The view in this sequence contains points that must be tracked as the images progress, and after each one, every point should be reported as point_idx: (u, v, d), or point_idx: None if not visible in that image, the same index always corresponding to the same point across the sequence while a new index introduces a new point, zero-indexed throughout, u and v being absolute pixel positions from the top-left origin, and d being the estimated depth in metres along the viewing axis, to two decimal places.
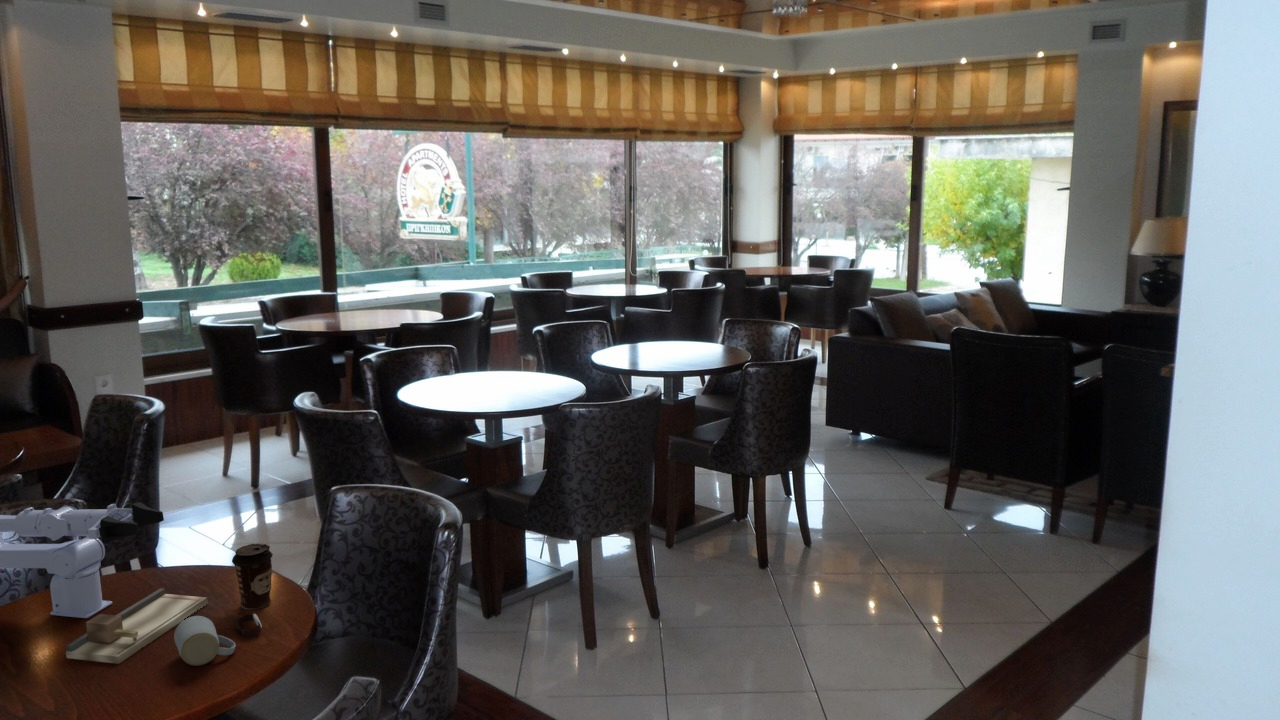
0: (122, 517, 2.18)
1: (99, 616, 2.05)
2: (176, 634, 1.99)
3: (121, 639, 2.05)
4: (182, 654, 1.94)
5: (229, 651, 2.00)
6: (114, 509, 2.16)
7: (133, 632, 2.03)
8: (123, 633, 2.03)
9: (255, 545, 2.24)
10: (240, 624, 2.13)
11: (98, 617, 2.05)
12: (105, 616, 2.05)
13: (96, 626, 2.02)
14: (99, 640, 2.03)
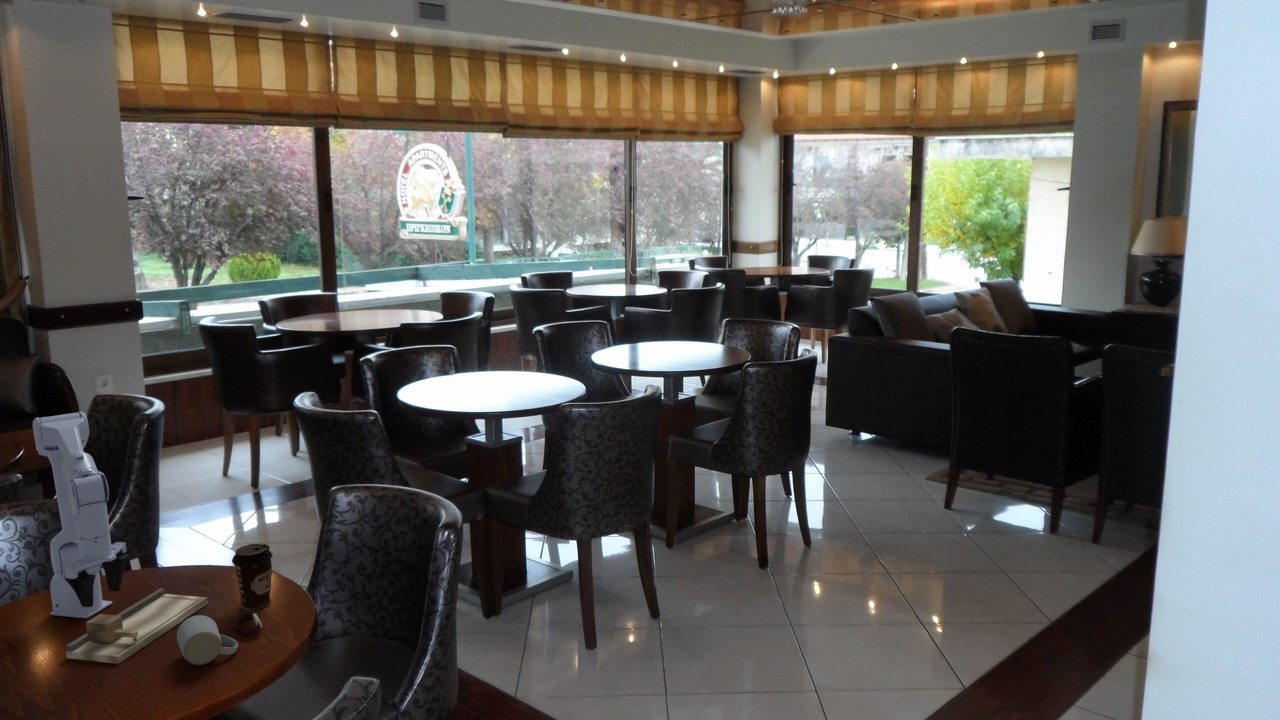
0: None
1: (99, 616, 2.05)
2: (179, 633, 1.99)
3: (121, 639, 2.05)
4: (184, 653, 1.94)
5: (231, 650, 2.00)
6: None
7: (133, 632, 2.03)
8: (123, 633, 2.03)
9: (255, 545, 2.24)
10: (240, 624, 2.13)
11: (98, 617, 2.05)
12: (105, 616, 2.05)
13: (96, 626, 2.02)
14: (99, 640, 2.03)
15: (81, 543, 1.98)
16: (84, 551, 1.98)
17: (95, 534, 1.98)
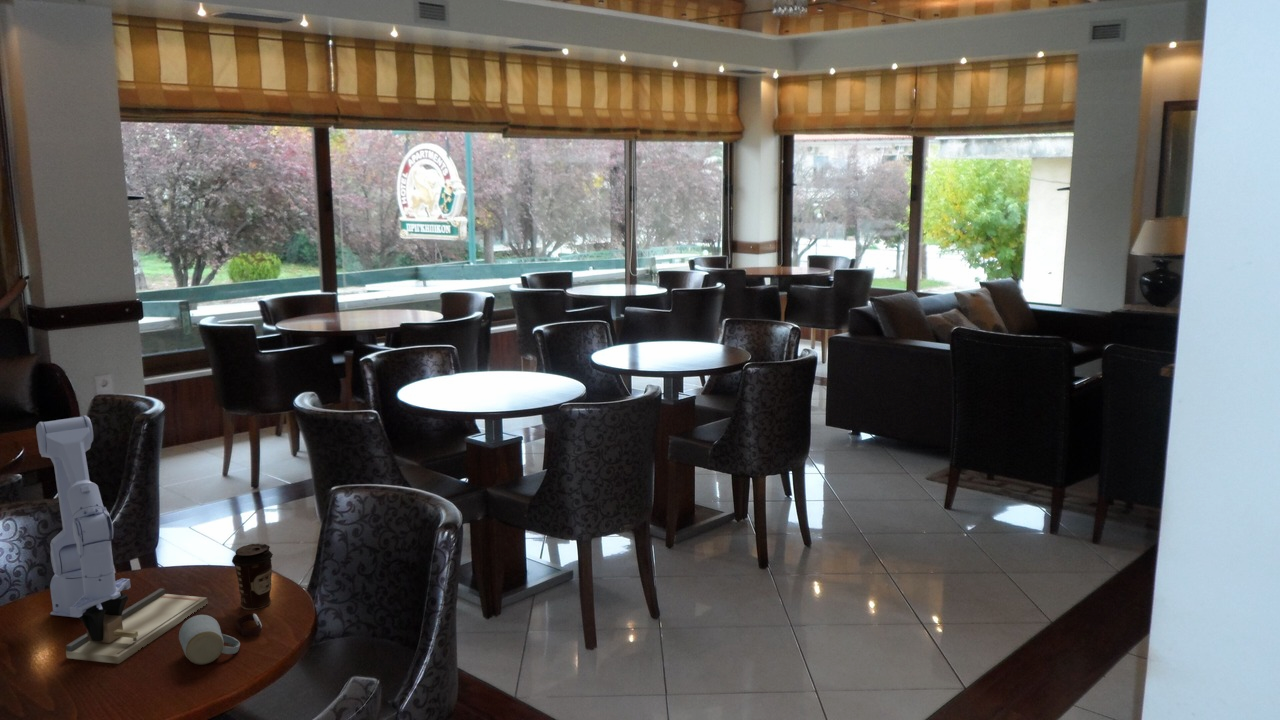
0: None
1: None
2: (181, 633, 1.99)
3: (121, 639, 2.05)
4: (187, 653, 1.95)
5: (234, 650, 2.00)
6: None
7: (133, 632, 2.03)
8: (123, 633, 2.03)
9: (255, 545, 2.24)
10: (240, 624, 2.13)
11: None
12: (105, 616, 2.05)
13: None
14: None
15: (86, 581, 2.00)
16: (89, 590, 2.00)
17: (100, 572, 2.00)
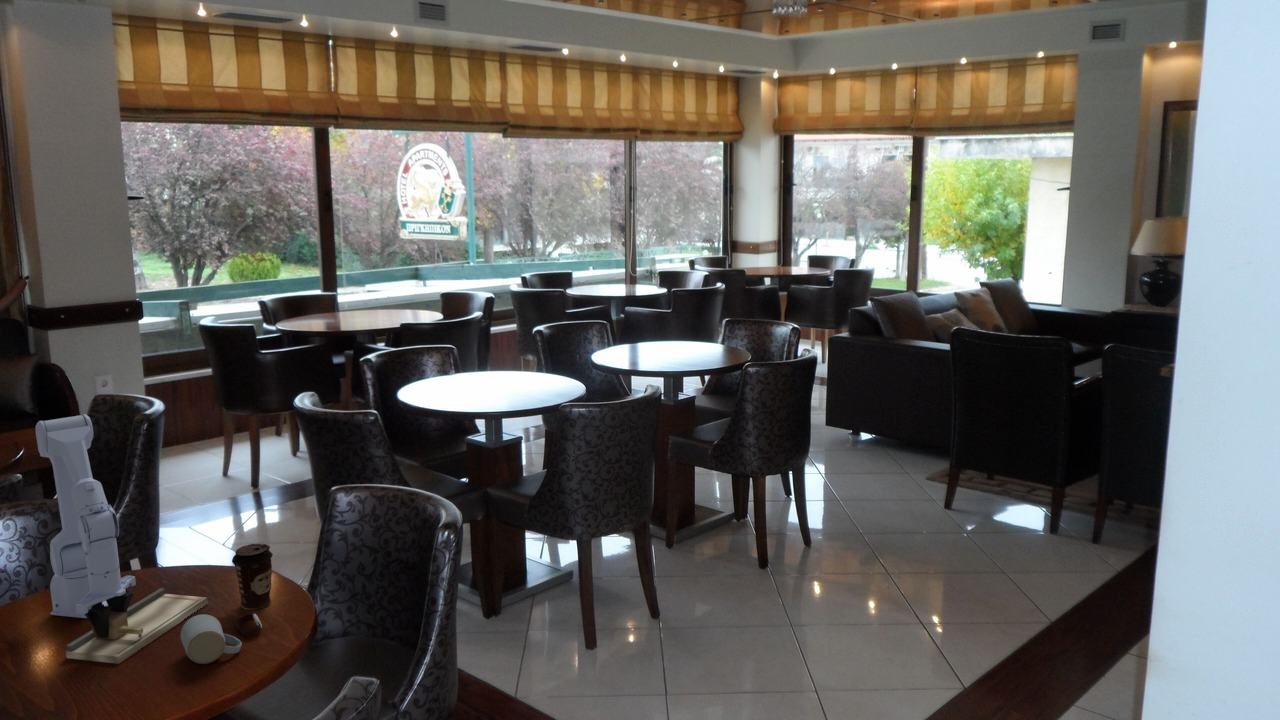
0: None
1: None
2: (182, 632, 1.99)
3: (121, 639, 2.05)
4: (188, 652, 1.95)
5: (235, 650, 2.01)
6: None
7: (138, 629, 2.04)
8: (128, 630, 2.05)
9: (255, 545, 2.24)
10: (240, 624, 2.13)
11: None
12: (110, 613, 2.07)
13: None
14: None
15: (91, 578, 2.01)
16: (94, 586, 2.01)
17: (106, 569, 2.01)
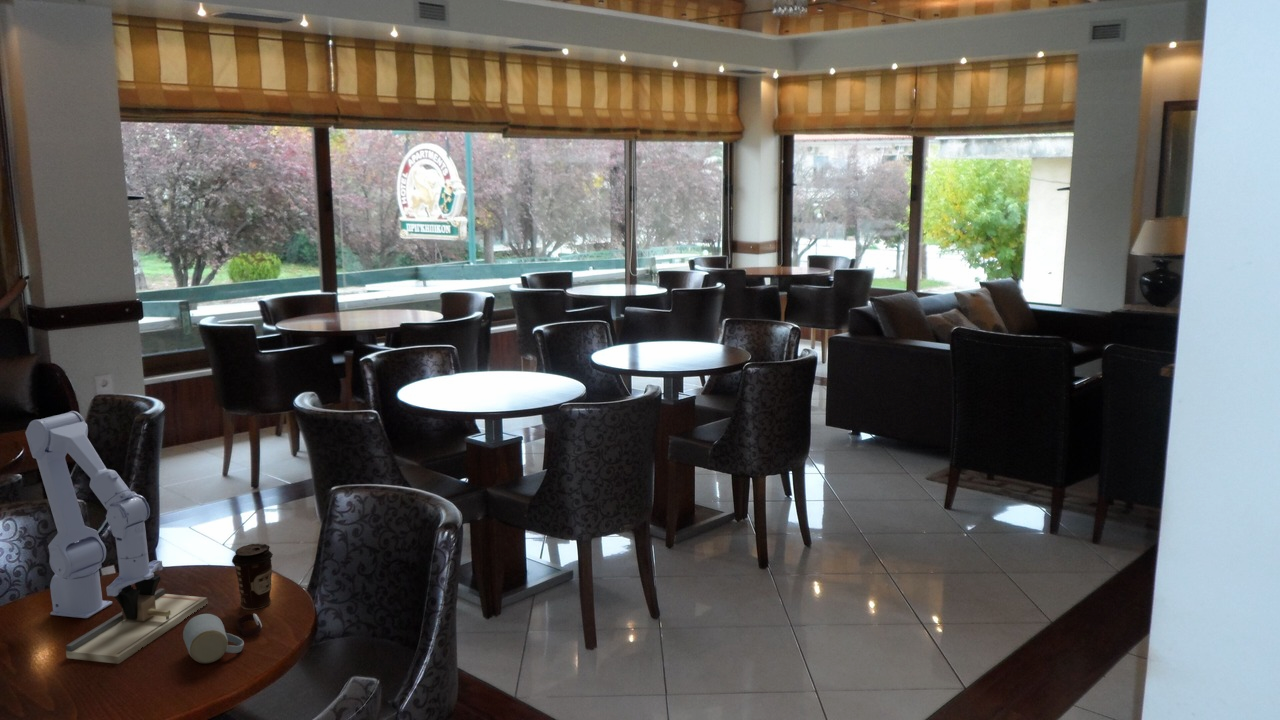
0: None
1: None
2: (185, 632, 1.99)
3: (121, 639, 2.05)
4: (191, 652, 1.95)
5: (237, 649, 2.01)
6: None
7: (166, 611, 2.13)
8: (156, 612, 2.13)
9: (255, 545, 2.24)
10: (240, 624, 2.13)
11: None
12: (139, 596, 2.15)
13: None
14: None
15: (121, 562, 2.09)
16: (124, 570, 2.10)
17: (141, 552, 2.10)
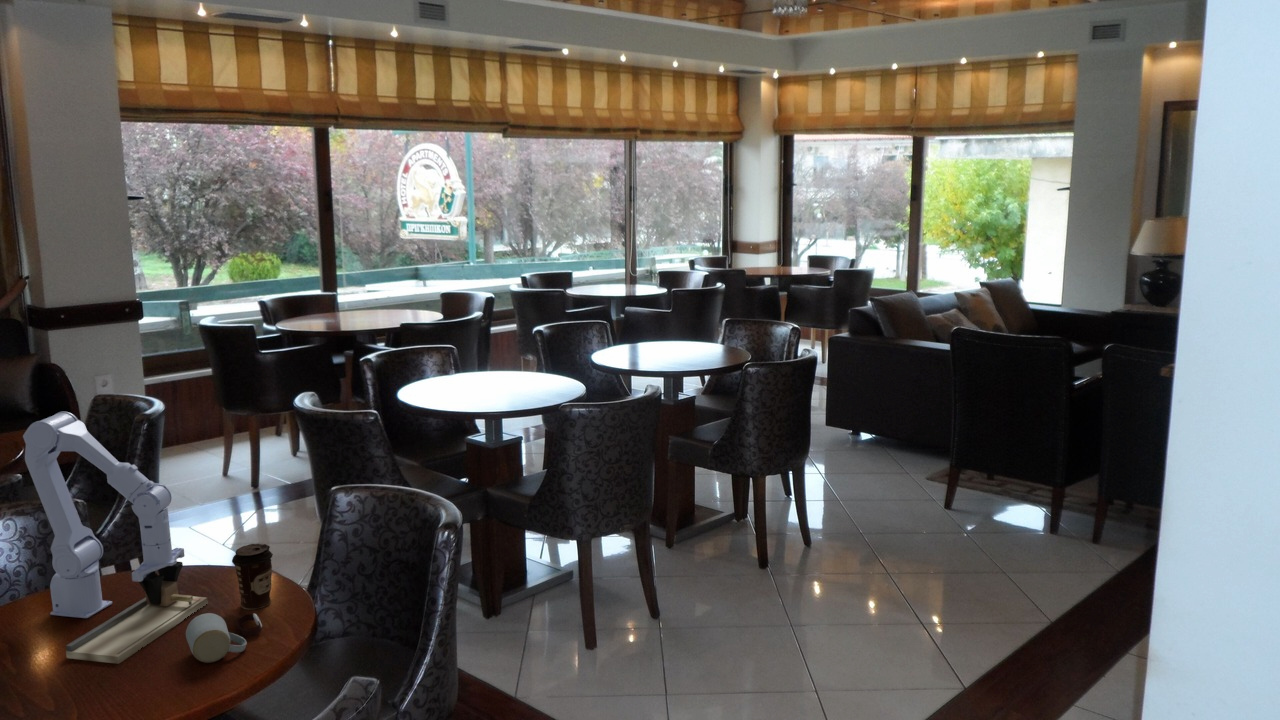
0: None
1: None
2: (188, 631, 2.00)
3: (121, 639, 2.05)
4: (194, 651, 1.95)
5: (240, 648, 2.01)
6: None
7: (188, 596, 2.20)
8: (179, 597, 2.20)
9: (255, 545, 2.24)
10: (240, 624, 2.13)
11: None
12: (162, 582, 2.22)
13: None
14: None
15: (145, 549, 2.17)
16: (148, 557, 2.17)
17: (168, 537, 2.19)
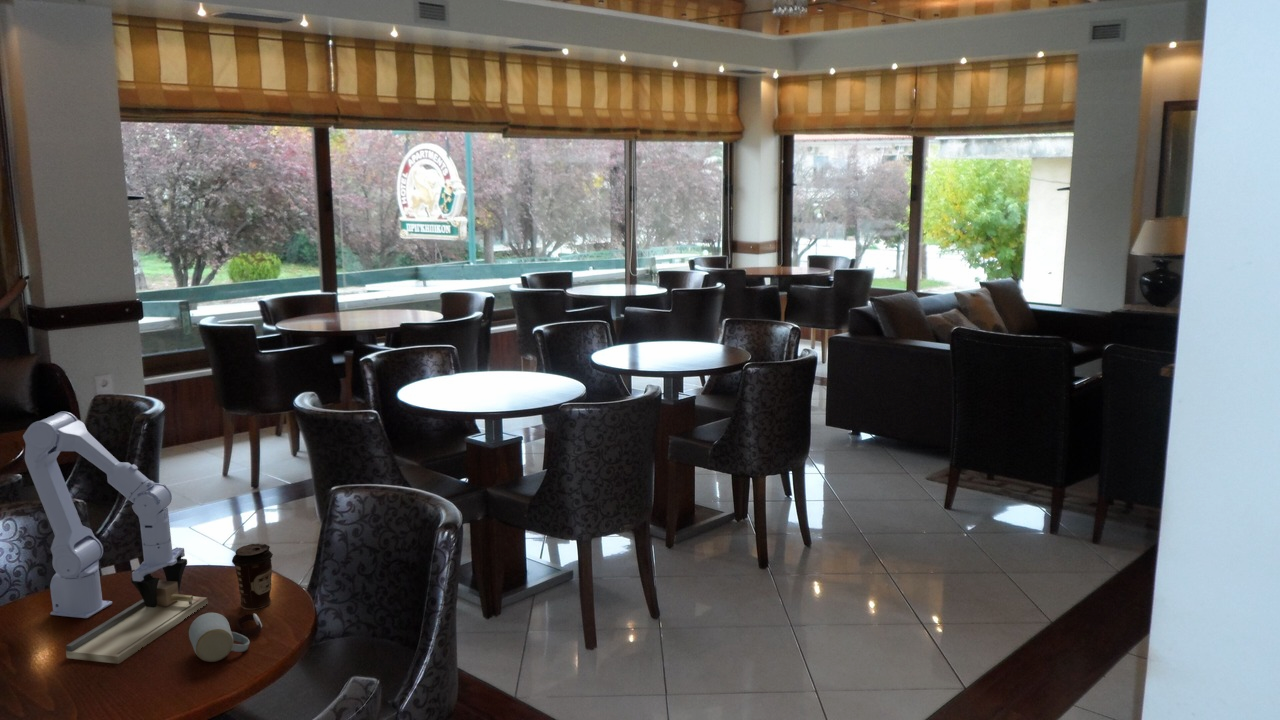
0: None
1: None
2: (191, 630, 2.00)
3: (121, 639, 2.05)
4: (197, 650, 1.96)
5: (243, 648, 2.01)
6: None
7: (189, 596, 2.20)
8: (179, 597, 2.20)
9: (255, 545, 2.24)
10: (240, 624, 2.13)
11: None
12: (162, 582, 2.22)
13: None
14: (157, 604, 2.20)
15: (146, 549, 2.17)
16: (149, 556, 2.17)
17: (169, 537, 2.19)
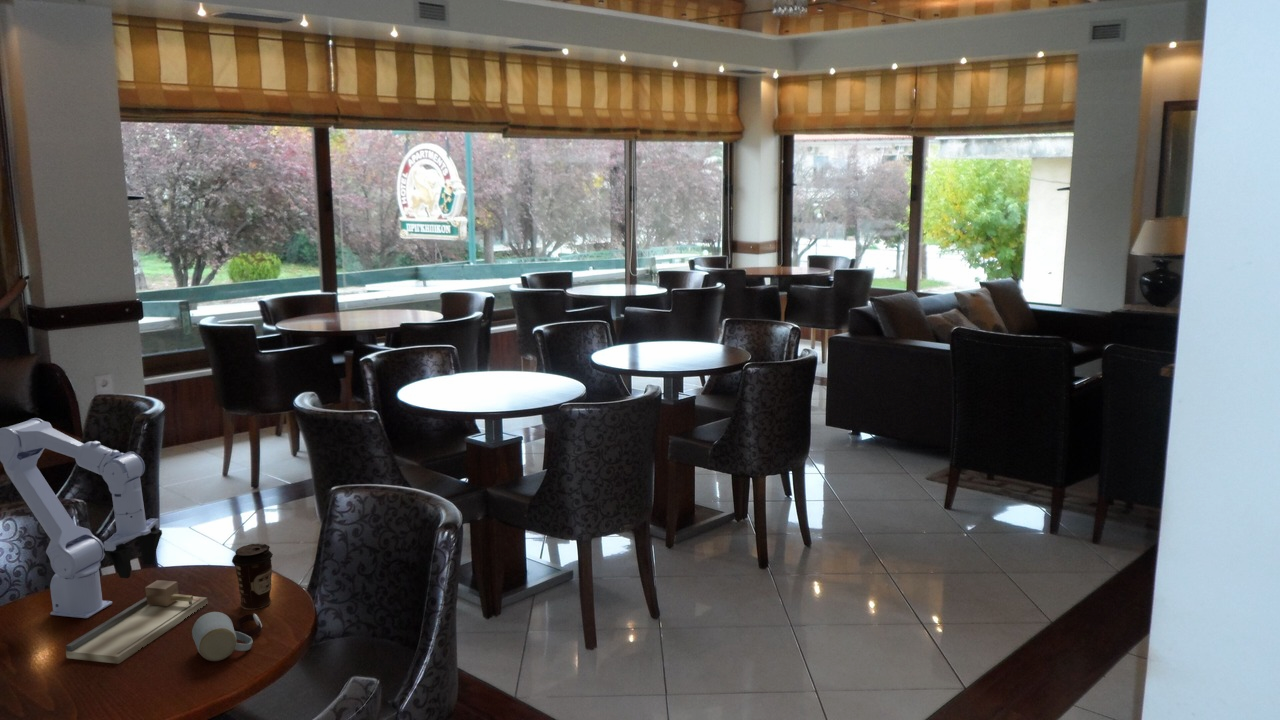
0: None
1: (157, 582, 2.22)
2: (194, 630, 2.00)
3: (121, 639, 2.05)
4: (200, 649, 1.96)
5: (246, 647, 2.02)
6: None
7: (189, 596, 2.20)
8: (179, 597, 2.20)
9: (255, 545, 2.24)
10: (240, 624, 2.13)
11: (156, 583, 2.22)
12: (162, 582, 2.22)
13: (154, 591, 2.19)
14: (157, 604, 2.20)
15: (118, 518, 2.12)
16: (121, 526, 2.12)
17: (140, 507, 2.14)
